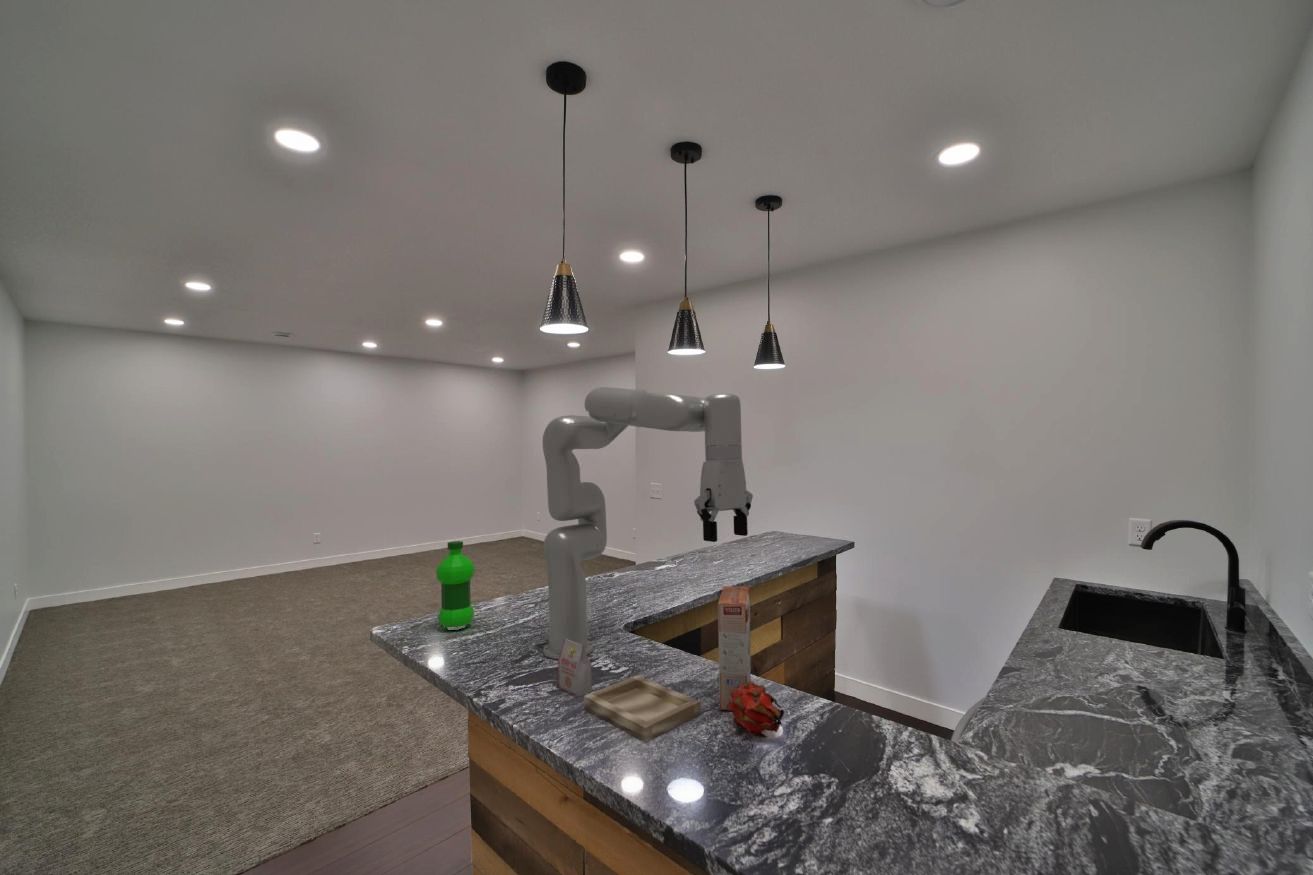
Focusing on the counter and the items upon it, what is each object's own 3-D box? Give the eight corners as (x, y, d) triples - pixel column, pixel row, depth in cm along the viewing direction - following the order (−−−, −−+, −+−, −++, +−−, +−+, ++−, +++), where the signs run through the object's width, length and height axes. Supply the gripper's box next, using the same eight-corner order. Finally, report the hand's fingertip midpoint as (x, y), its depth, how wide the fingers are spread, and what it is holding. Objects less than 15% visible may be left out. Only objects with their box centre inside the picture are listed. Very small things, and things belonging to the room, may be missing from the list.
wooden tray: (584, 708, 110) (584, 696, 110) (637, 687, 119) (637, 675, 119) (645, 742, 96) (645, 727, 96) (700, 714, 106) (699, 701, 106)
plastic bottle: (465, 620, 170) (464, 538, 170) (480, 628, 162) (479, 542, 163) (432, 628, 163) (431, 542, 164) (446, 636, 155) (445, 546, 156)
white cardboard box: (572, 682, 123) (571, 636, 123) (591, 691, 118) (590, 643, 118) (558, 687, 120) (557, 640, 120) (577, 696, 115) (576, 648, 115)
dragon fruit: (735, 721, 106) (779, 759, 96) (708, 706, 102) (751, 744, 92) (757, 681, 108) (803, 714, 98) (732, 664, 104) (777, 697, 94)
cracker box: (750, 713, 106) (747, 603, 107) (718, 711, 107) (716, 602, 108) (752, 683, 120) (750, 585, 120) (724, 681, 121) (722, 584, 122)
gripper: (735, 454, 123) (737, 531, 123) (681, 455, 111) (683, 541, 111) (763, 453, 118) (766, 534, 117) (709, 455, 106) (712, 545, 105)
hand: (726, 538), depth 114 cm, fingers open, 9 cm apart
